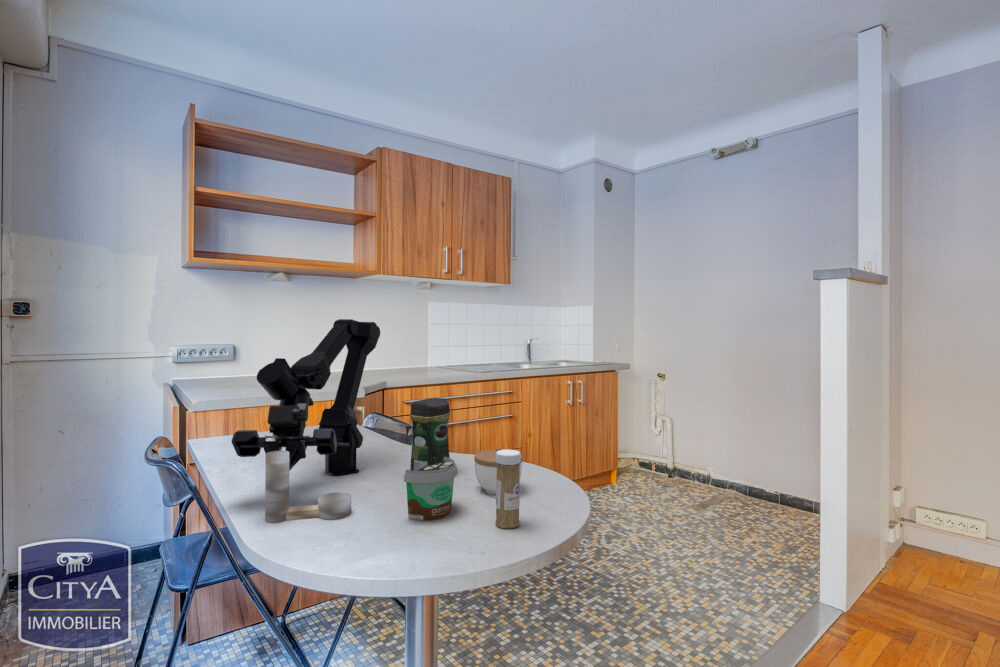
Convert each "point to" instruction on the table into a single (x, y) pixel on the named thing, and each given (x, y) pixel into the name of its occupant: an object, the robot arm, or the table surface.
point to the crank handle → (279, 495)
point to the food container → (430, 490)
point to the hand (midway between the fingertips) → (278, 481)
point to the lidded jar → (488, 469)
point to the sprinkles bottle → (507, 488)
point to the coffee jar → (429, 432)
